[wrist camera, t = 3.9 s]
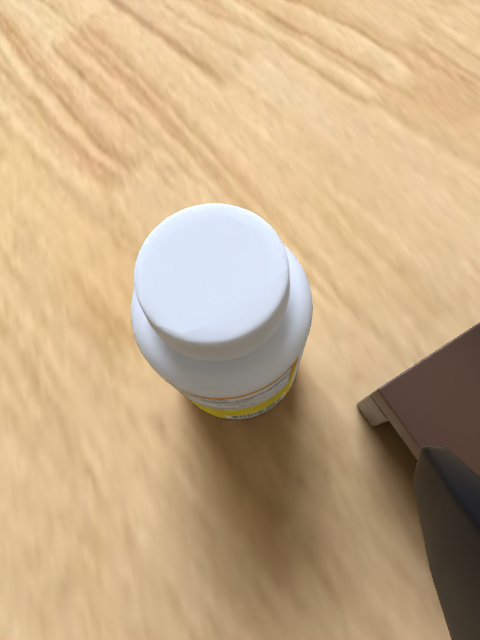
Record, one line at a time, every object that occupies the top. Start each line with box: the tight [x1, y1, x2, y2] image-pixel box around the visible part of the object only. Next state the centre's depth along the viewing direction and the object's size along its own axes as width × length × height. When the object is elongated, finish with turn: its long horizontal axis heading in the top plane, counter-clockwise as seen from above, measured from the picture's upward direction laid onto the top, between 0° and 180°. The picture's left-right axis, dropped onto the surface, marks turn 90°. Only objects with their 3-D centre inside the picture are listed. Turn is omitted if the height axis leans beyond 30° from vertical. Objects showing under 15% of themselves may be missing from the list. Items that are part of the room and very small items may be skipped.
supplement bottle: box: [131, 203, 313, 420], centre depth 16 cm, size 6×6×10 cm
